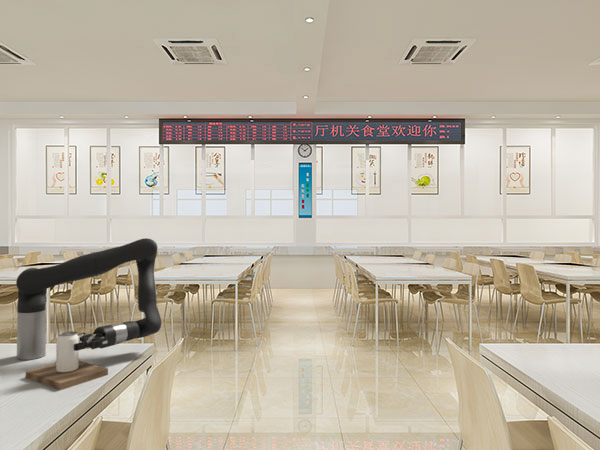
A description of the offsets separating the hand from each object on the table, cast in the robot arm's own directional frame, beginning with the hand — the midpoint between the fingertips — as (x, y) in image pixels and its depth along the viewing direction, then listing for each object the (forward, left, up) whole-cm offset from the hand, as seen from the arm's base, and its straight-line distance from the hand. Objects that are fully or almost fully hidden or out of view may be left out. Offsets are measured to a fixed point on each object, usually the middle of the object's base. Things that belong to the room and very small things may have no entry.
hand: (66, 345), depth 143 cm
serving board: (0, 0, -10) cm, 10 cm away
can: (0, 0, -8) cm, 8 cm away
